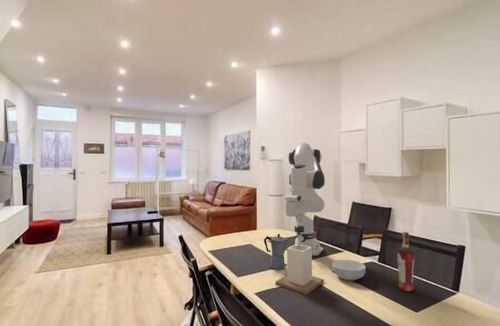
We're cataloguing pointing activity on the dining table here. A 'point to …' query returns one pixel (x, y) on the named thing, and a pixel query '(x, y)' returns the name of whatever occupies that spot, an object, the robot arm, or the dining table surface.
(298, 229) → the dark-topped thin piece
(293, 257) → the hollow square stand
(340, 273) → the cereal bowl
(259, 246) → the dining table surface
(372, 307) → the dining table surface
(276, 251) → the moka pot
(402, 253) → the liquor
